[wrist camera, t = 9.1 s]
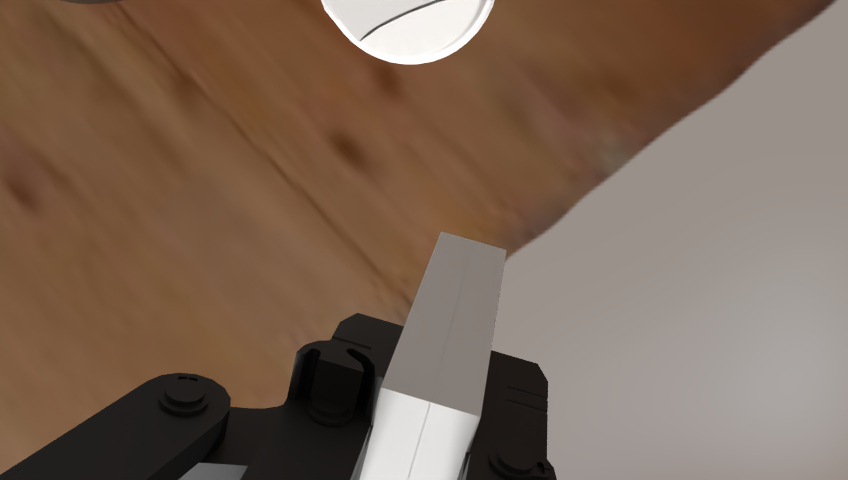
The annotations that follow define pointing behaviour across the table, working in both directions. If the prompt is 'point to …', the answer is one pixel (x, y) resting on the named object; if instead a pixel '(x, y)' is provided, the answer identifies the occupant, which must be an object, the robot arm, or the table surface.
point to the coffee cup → (409, 26)
